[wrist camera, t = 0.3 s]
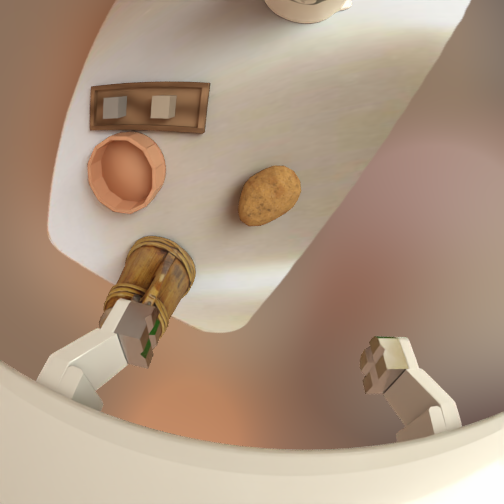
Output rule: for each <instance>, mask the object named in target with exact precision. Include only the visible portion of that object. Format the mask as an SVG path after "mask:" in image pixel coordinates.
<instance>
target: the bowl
mask: <svg viewBox="0 0 504 504" xmlns="http://www.w3.org/2000/svg"><path fill="white" fill-rule="evenodd" d="M165 175H166V165H165V160H164V156H163V154H162V152H161V150H160V148H159V147H158V145H157V144H156V143H155V142H154V141H153V140H152V139H151V138H149V137H148V136H146V135H144V134H142V133H139V132H120V133H117V134H115V135H112V136H110V137H108V138H107V139H105V140H104V141H102V142H101V143H100V144H98V145H97V146H95V148H94V150H93V152H92V155H91V157H90V159H89V162H88V178H89V183H90V184H89V185H90V186H91V188H92V190H93V192H94V194H95V196H96V197H97V199H98V200H99V201H100V202H101V203H102V204H104V205H105V206H106V207H108V208H109V209H111V210H112V211H114V212H121V213H128V214H131V213H133V212H136V211H138V210H140V209H142V208H144V207H146V206H147V205H148V204H149V203H150V202H151V201H152V200H153V199H154V198H155V196H156V195H157V193H158V192H159V190H160V189H161V187H162V185H163V183H164V180H165Z"/></svg>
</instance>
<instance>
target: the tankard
mask: <svg viewBox="0 0 504 504" xmlns="http://www.w3.org/2000/svg"><path fill="white" fill-rule="evenodd" d="M195 275H196V270H195V265H194V262H193V260H192V258H191V257H190V256H189V254H188V253H187V252H186V251H185V250H184V249H182V248H181V247H180V246H179V245H178V244H177V243H175V242H173V241H171V240H169V239H166V238H162V237H157V236H147V237H143V238H141V239H139V240H138V241H136V243H135V244H134V245H133V247H132V248H131V250H130V251H129V253H128V255H127V258H126V262H125V267H124V269H123V271H122V273H121V276H120V278H119V280H118V282H117V284H116V285H115V286H113V287H112V288H111V290H110V292H109V294H108V296H107V299H106V301H105V303H104V313H103V315H102V317H101V319H100V321H99V326H100V329H101V327H102V325H103V324H104V322H105V320H106V318H107V317H108V315H109V313H110V312H111V310H112V308H113V306H114V305H115V303H116V301H117V300H119V299H120V298H122V299H126V300H130V301H134V302H138V303H142V304H146V305H150V306H154V307H157V308H158V312H159V315H158V317H157V319H158V321H159V322H160V326H161V332H160V337H159V339H160V338H161V337H162V335H163V334H164V332H165V331H166V328H167V327H168V323H169V319H170V317H171V315H172V314H173V312H174V310H175V309H176V307H177V305H178V303H179V302H180V300H181V299H182V298H183V297H184V296H185V295H186V294H187V293H188V291H189V290H190V288H191V286H192V284H193V282H194V279H195ZM154 348H155V347H154ZM154 348H152V350H153V349H154Z"/></svg>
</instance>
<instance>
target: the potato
mask: <svg viewBox="0 0 504 504" xmlns="http://www.w3.org/2000/svg"><path fill="white" fill-rule="evenodd" d="M300 193H301V185H300V180H299V179H298V177H297V175H296V174H295V172H294V171H293V170H291V169H289V168H287V167H285V166H272V167H269V168H266V169H264V170H262V171H260V172H259V173H257V174H255V175H254V176H252V177H250V178H249V180H248V181H247V182H246V183H245V184H244V187H243V190H242V193H241V197H240V200H239V206H238V213H239V217H240V220H241V221H242V222H244V223H245V224H246V225H248V226H261V225H263V224H266V223H268V222H271V221H273V220H274V219H276V218H278V217H280V216H282V215H283V214H285V213H286V212H287V211H289V210H290V209H291V208H293V206H294V205H295V203H296V202H297V200H298V198H299V195H300Z"/></svg>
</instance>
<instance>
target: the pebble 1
mask: <svg viewBox="0 0 504 504" xmlns="http://www.w3.org/2000/svg"><path fill="white" fill-rule="evenodd" d="M126 106H127V96H117V97H108V98H104V102H103V119H111V118H120V117H124V116H126Z"/></svg>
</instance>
